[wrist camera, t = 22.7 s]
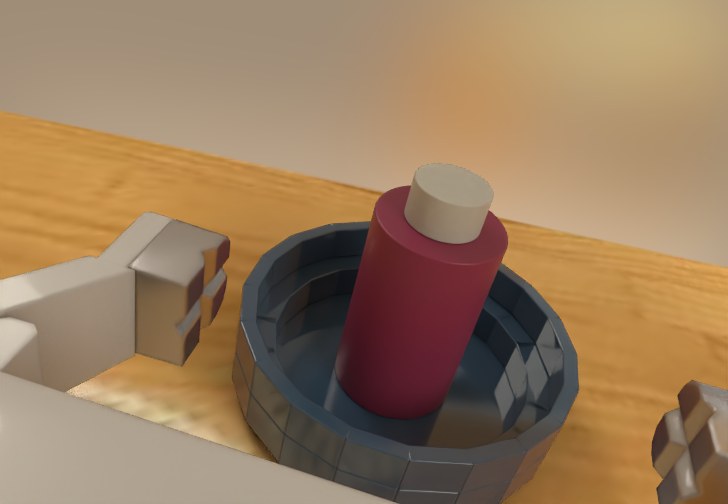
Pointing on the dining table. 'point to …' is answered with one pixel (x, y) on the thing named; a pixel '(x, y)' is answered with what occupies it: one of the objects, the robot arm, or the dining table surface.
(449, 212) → the yogurt bottle
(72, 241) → the dining table surface
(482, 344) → the bowl
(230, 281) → the dining table surface
